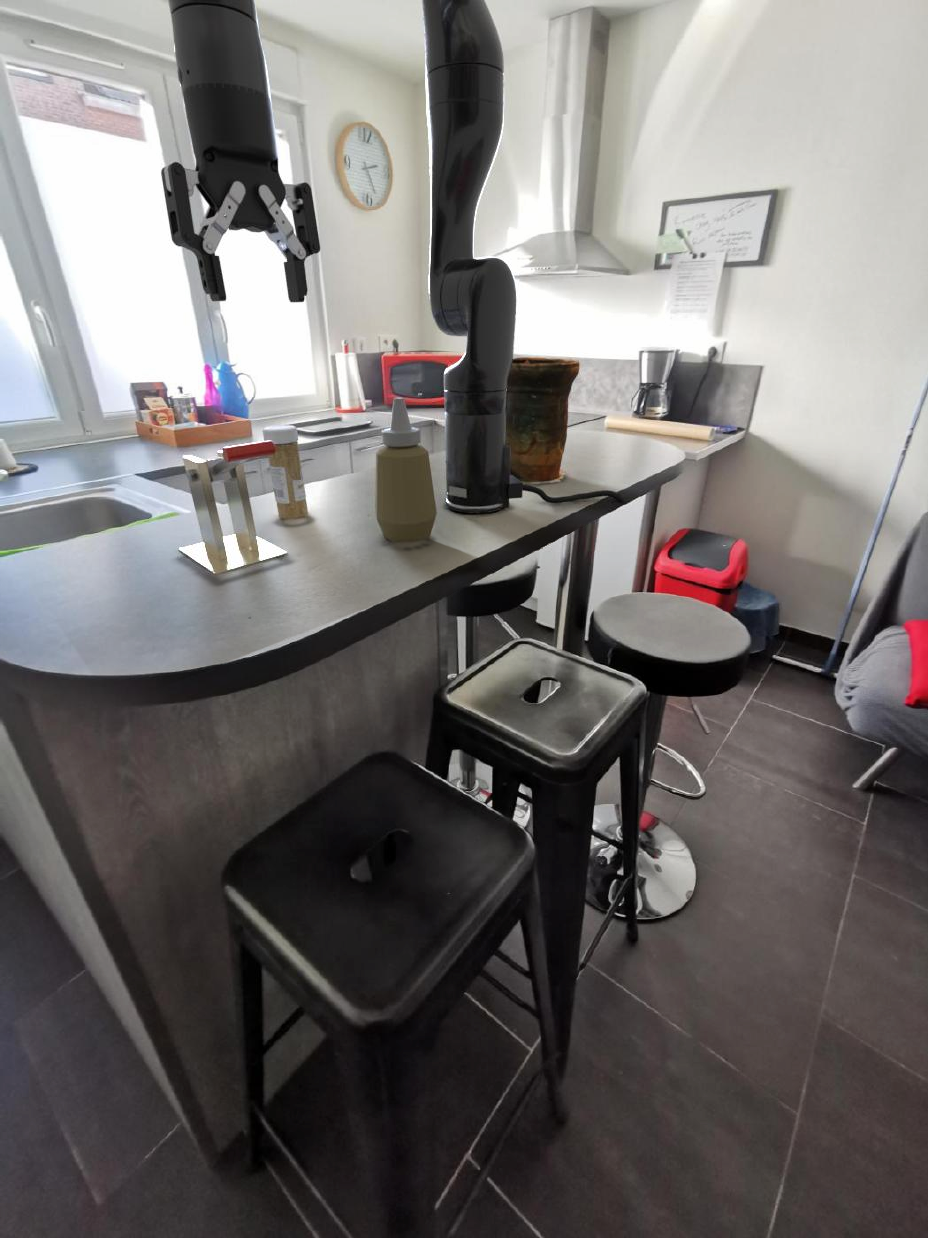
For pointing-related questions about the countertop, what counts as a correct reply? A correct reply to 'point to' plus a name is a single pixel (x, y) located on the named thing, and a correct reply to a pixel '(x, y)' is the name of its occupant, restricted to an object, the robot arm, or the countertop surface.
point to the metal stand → (215, 548)
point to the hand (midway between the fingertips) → (260, 301)
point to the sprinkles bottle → (286, 471)
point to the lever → (236, 459)
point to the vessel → (538, 417)
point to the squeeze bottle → (403, 481)
